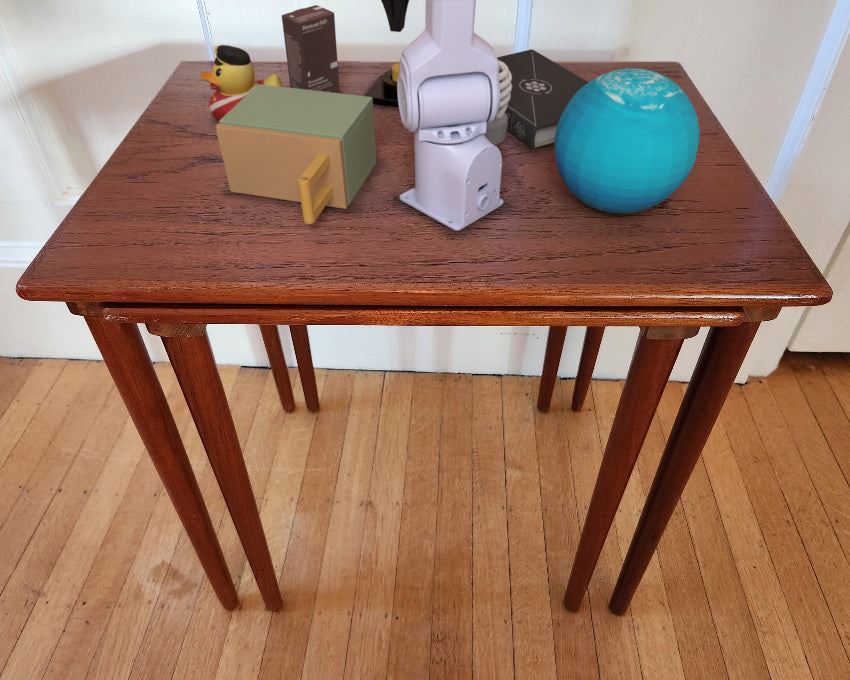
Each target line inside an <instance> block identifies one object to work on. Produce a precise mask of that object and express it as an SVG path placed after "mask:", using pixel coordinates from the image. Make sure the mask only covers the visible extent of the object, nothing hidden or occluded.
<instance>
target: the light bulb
mask: <svg viewBox="0 0 850 680" xmlns="http://www.w3.org/2000/svg"><path fill="white" fill-rule="evenodd" d="M498 61H499V60H498ZM499 71H501V73H499V81H502V82H501V83H500V82H499V83H500V91H502V92H500V107H499V108H501V109H499V111H498V114H497V116H496V117H495V119H494V120H493V122H491V123H487V127H486V133H483V134H484V135H485V137H486V138H487V139H488V140H489V141H490V142H491V143H492V144H493V145H495V146H497V145H500V144H501V143H503V141H504V140H505V139H506V136H507V132H508V131H507V126H508V116H507V114H506V113H505V111H506V108H507V106H508V102H509V100H510V97H511V93H510V92H511V89H512V84H511V81H512V75H511V72H510V71H509V69H508V67H507V65H506V64H505V63H503V62H502V61H499Z"/></svg>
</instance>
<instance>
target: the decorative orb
mask: <svg viewBox="0 0 850 680" xmlns="http://www.w3.org/2000/svg"><path fill="white" fill-rule="evenodd" d="M588 82H589V83H587V84H586V85H585V86H583V87H582V88H581V89H580V90H579V91H578V92H577V93H576V94H575V95H574V96H573V97H572V99H571V100H570V102H569V103H568V105H567V107H566V108H565V110H564V112H563V114H562V115H561V118H560V120H559V123H558V125H557V128H556V133H555V141H554V145H553V147H554V148H553V149H554V155H555V161H556V167H557V170H558V173H559V176H560V178H561V180H562V182H563V183H564V184H565V186H566V187H567V189H568V190H569V191H570V192H571V194H572V195H573V196H574V197H575V198H576V199H578V200H580V201H581V202H582V203H584V204H586V205H587V206H588V207H590V208H592V209H595V210H598V211H599V212H605V213H610V214H620V215H621V214H622V215H626V214H632V213H633V214H635V213H639V212H642V211H645V210H646V211H647V210H649V209H651V208H653V207H656V206H657V205H659V204H661V203H663V202H664V201H665V200H667V199H669V197H670V196H672V195H673V194H674V193H675V192H676V191H677V190H678V189H679V188H680V187H681V186H682V185H683V183H684V182H686V180H687V178H688V177H689V175H690V173H691V172H692V169H693V166H694V164H695V162H696V160H697V159H696V158H697V154H698V149H699V144H700V138H701V137H700V136H701V135H700V134H701V131H700V130H701V128H700V123H699V118H698V115H697V112H696V110H695V109H696V108H694V105H693V104H692V101H691V99H690V98H689V96H688V94H687V93H686V92H685V91H684V89H683V88H681V86H680V85H678V84H677V83H676V82H674V81H673V80H672V79H671V78H669V77H667V76H666V75H665V74H663V73H662V74H661V73H659V72H656V71H652V70H650V69H646V68H640V67H639V68H634V67H633V68H632V67H631V68H628V67H627V68H619V69H615V70H611V71H609V72H606V73H603V74H600V75H599V76H597V77H595V78H593V79H592V80H591V81H588Z"/></svg>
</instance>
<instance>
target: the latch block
mask: <svg viewBox="0 0 850 680" xmlns="http://www.w3.org/2000/svg"><path fill="white" fill-rule="evenodd" d="M364 96H367V97H372V98H373V105H377V106H385V107H386V106H387V107H395V108H399V104H398V94H397V82H395V81H393V80H392V68H391V69H389V70H386V71H384V72H383V74H380V75H379V76H378V77H377V79H376V80H375V82H374V83H373V84H372V85H371V86H370V88H369V89H368V91H367V92H366V93H365V94H364Z"/></svg>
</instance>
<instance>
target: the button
mask: <svg viewBox="0 0 850 680" xmlns="http://www.w3.org/2000/svg"><path fill="white" fill-rule="evenodd" d="M391 69H392V80H393V81H395V82H397V81H398V76H399V71H400V62H396V63H394V64H392V66H391Z"/></svg>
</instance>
